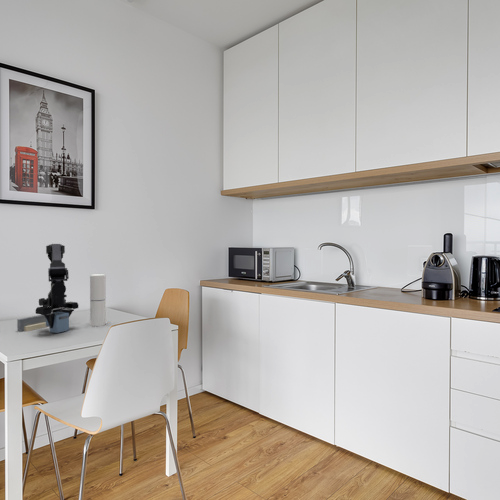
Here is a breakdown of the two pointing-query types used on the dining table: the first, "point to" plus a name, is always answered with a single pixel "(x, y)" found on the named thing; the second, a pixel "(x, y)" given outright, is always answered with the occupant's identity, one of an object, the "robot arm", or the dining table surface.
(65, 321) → the blue block
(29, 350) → the dining table surface
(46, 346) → the dining table surface
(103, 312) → the cylindrical container
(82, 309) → the dining table surface
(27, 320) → the wall board
